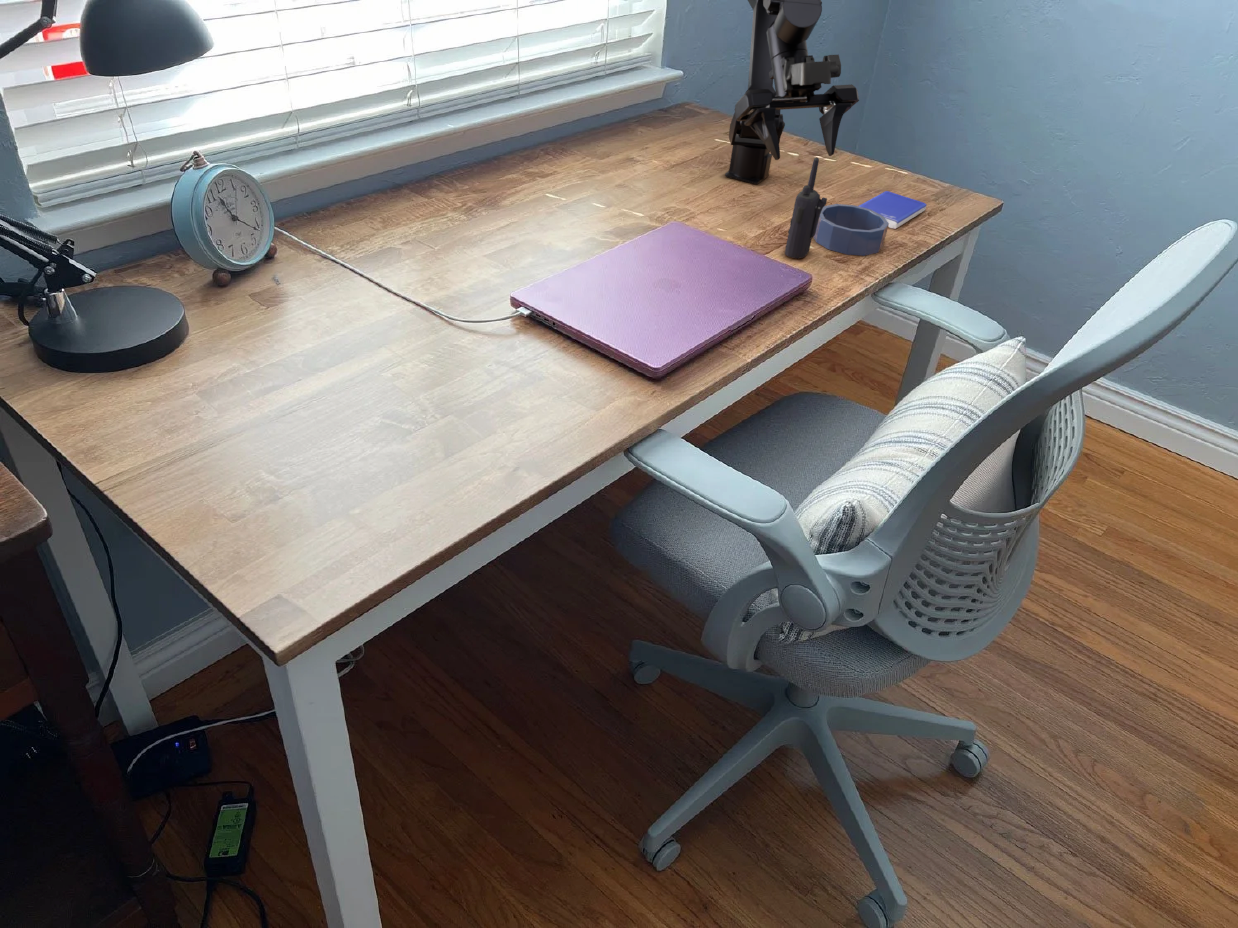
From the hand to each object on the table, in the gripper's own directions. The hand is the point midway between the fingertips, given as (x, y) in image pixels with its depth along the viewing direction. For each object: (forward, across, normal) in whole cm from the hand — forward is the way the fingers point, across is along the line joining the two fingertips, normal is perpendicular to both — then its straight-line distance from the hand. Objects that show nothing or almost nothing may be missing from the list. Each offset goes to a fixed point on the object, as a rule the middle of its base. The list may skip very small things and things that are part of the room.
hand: (804, 157), depth 148 cm
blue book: (+7, +22, +15) cm, 28 cm away
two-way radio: (+15, -2, +3) cm, 15 cm away
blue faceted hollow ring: (+12, +9, +6) cm, 16 cm away
